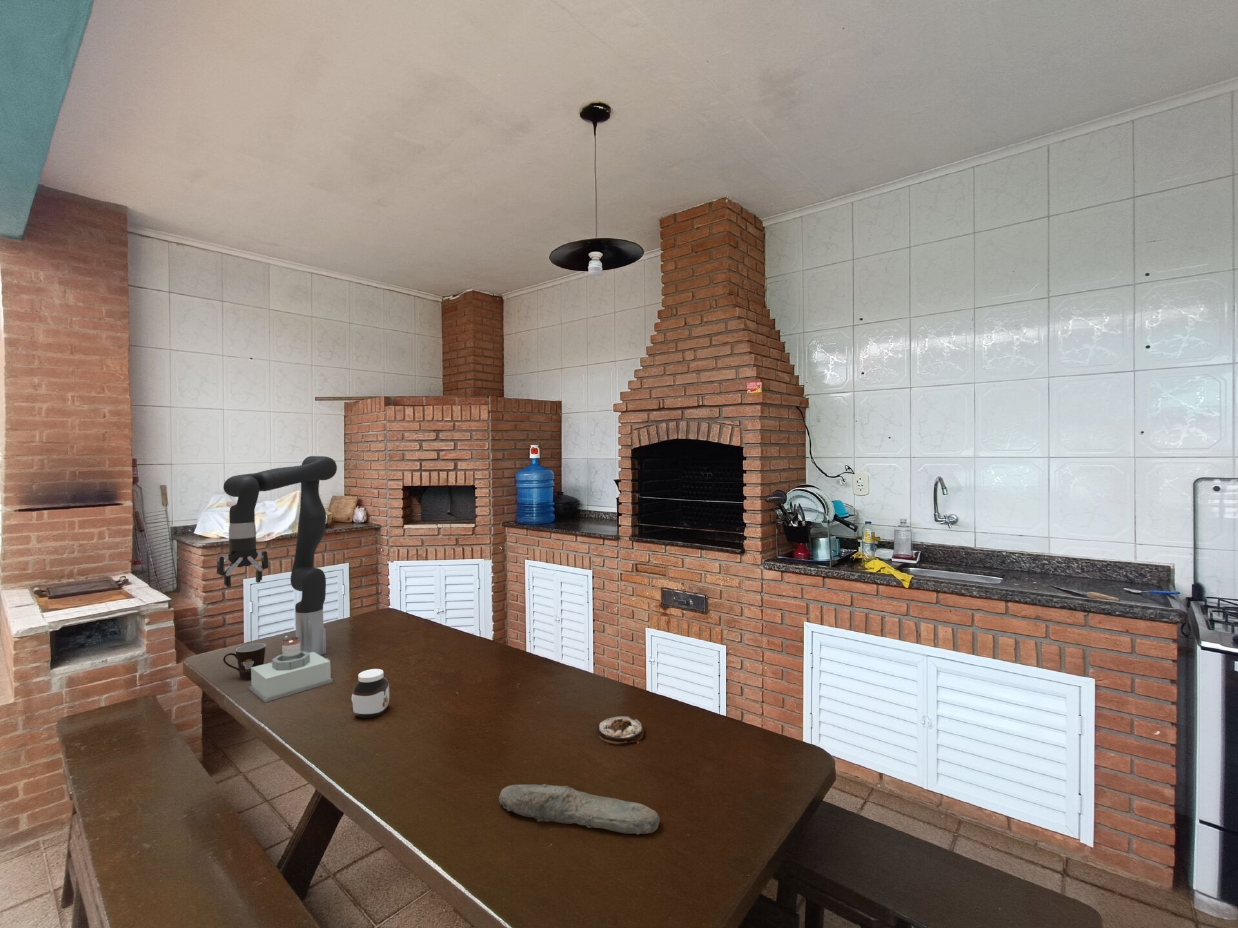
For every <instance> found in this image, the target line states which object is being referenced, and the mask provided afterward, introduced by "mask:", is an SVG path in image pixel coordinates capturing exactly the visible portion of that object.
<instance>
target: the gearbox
mask: <svg viewBox="0 0 1238 928" xmlns="http://www.w3.org/2000/svg"><path fill="white" fill-rule="evenodd" d="M300 652H301V658H300V659H296V660H292V661H282V653H281V654H278V655H277V656H275V657H274V658H272V659H271V662H268V663H264V664H263V665H259V666H255V667H251V680H250V682H251V684H250V685H249V686H248V689H249V690H250V691H251V692H252V693H253V694H255V695H256V696H257V697H258V698H260V700H262V701H263V702H265V703H267V702H268V703H269V702H271V701H274V700H278V699H280V698H284V697H287V696H291V695H294V694H297V693H301V692H305V691H307V690H310V689H314V688H315V689H316V688H318V687H321V686H324V685H325V686H326V685H328V684H332V683H333V682H334V679H333V678H331V677H332V675H331V671H332V670H331V660H330V659H329V658H328V657H326V658H325V657H324V656H323V655H321V656H320V655H318V654H317V653H315V652H311V653H307V652H305V651H300Z"/></svg>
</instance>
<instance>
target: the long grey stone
mask: <svg viewBox="0 0 1238 928" xmlns="http://www.w3.org/2000/svg"><path fill="white" fill-rule="evenodd" d="M498 800H499V803H500V804H501V805H502V808H503V809H505V810H507V812H513V813H515V814H517V815H520V816H521V817H528V818H530V819H531V818H533V819H535V820H536V821H537V822H546V823H549V822H555V823H559V824H566V825H568V824H569V825H570V824H577V825H580V826H586V828H589V829H590V828H592V829H593V828H595V829H596V828H597V829H603V830H607V831H609V832H610V831H611V832H617V833H622V834H625V835H627V834H628V835H631V834H636V835H637V836H639V835H640V834H641V835H647V834H652V833H654V832H656V831H657V830H658V828H659V825H660V822H661V821H660V820H661V818H660V817H659V814H658V812H657V811H656V810H654V809H652V808H650V807H648V806H646V805H645V804H642V803H639V802H634V801H627V800H622V799H618V798H614V797H609V796H601V795H596V794H590V793H588V792H585V791H580V790H576V788H573V787H570V786H568V785H553V784H552V785H551V784H546V783H543V784H512V785H508V786H506V787H504V788H502V789H501V791H500V794H499V796H498Z"/></svg>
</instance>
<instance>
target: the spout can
mask: <svg viewBox="0 0 1238 928" xmlns="http://www.w3.org/2000/svg"><path fill="white" fill-rule="evenodd" d="M281 654H282V661H292V660H296V659H300V658H301V652H300V638H299V637H296V636H294V637H292V636H291V637H289V635H284V637H283V639H282V640H281Z"/></svg>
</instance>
